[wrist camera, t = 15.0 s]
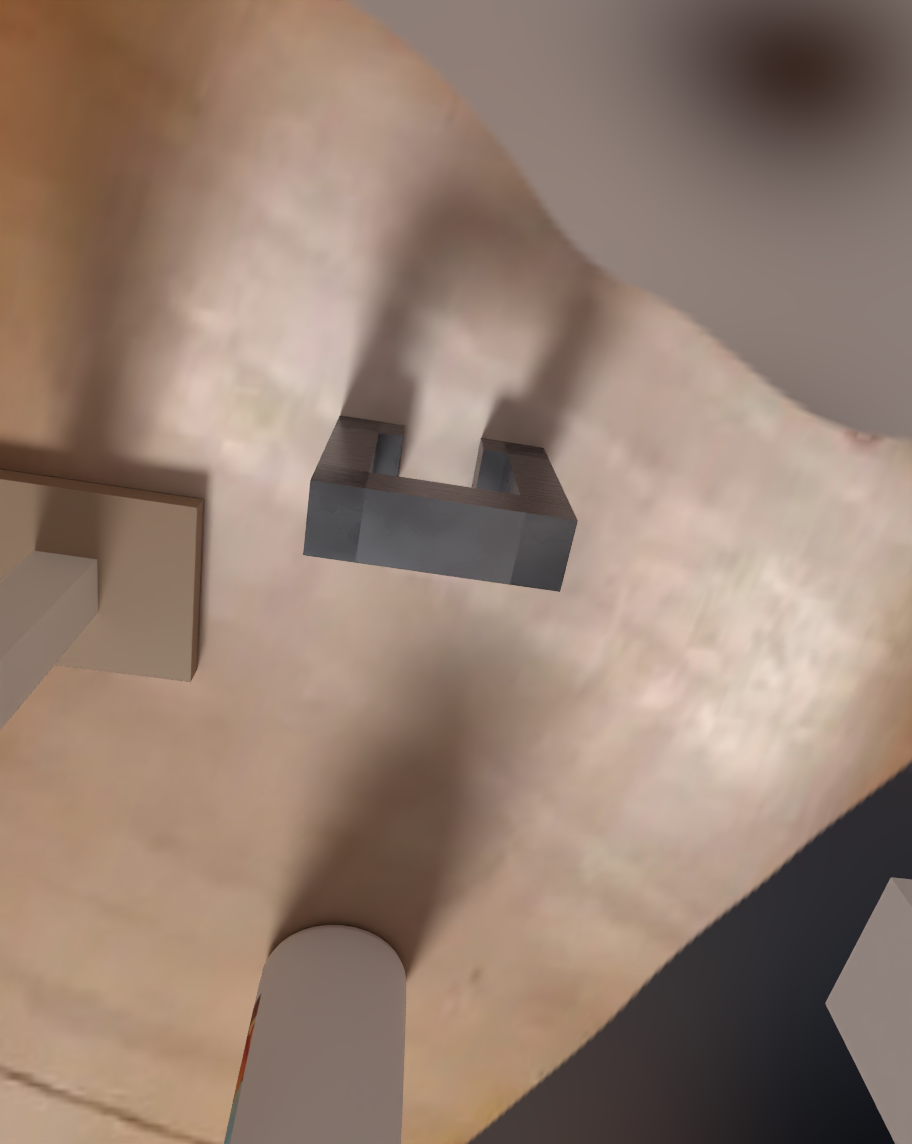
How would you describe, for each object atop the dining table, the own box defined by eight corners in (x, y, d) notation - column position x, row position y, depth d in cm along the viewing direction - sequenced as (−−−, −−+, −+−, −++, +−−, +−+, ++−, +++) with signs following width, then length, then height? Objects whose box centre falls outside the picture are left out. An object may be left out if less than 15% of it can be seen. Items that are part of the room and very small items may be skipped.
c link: (333, 475, 31) (303, 554, 24) (340, 415, 30) (310, 479, 23) (530, 505, 32) (560, 591, 25) (543, 448, 31) (577, 520, 24)
